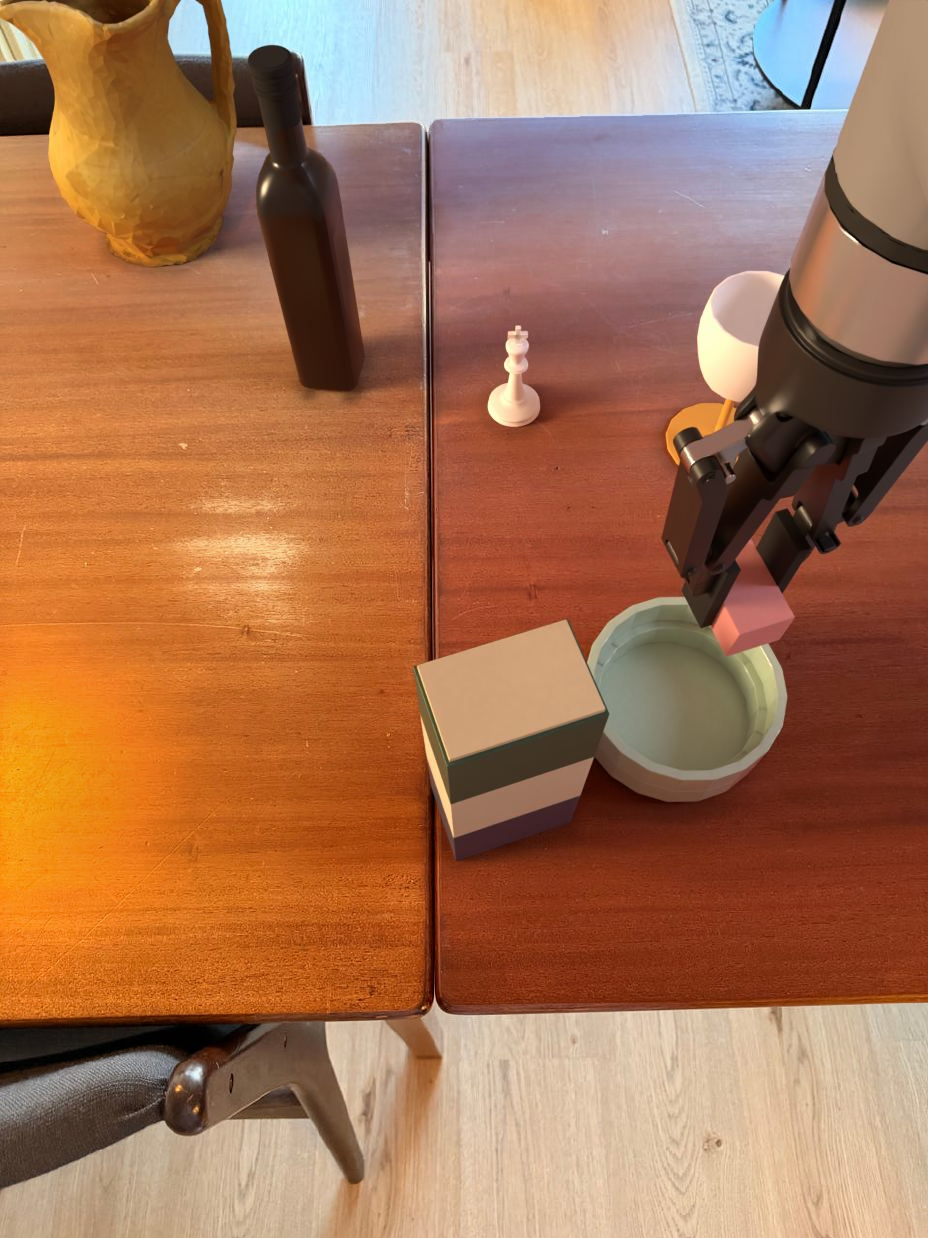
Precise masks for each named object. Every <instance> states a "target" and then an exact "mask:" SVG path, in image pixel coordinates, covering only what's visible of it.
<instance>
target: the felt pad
mask: <svg viewBox="0 0 928 1238" xmlns="http://www.w3.org/2000/svg"><path fill="white" fill-rule="evenodd" d="M562 620H563V621H562ZM562 620H558V621H559V622H558V621H555V622H556V623H555V622H552V623H553V624H552V623H549V624H550V625H549V624H546V626H545V625H542V626H543V627H542V626H539V627H540V628H539V627H536V628H537V629H536V628H533V629H534V630H532V629H529V630H530V631H529V630H526V631H527V632H526V631H523V632H524V633H523V632H520V633H521V634H520V633H517V635H516V634H514V636H513V635H511V637H510V636H507V637H508V638H507V637H503V638H504V639H503V638H500V639H501V640H500V639H497V640H498V641H497V640H494V641H495V642H494V641H490V642H491V643H490V642H487V643H488V644H487V643H484V644H485V645H484V644H481V645H482V646H481V645H478V647H477V646H475V648H474V647H472V649H471V648H468V649H469V650H468V649H465V651H464V650H461V651H462V652H461V651H458V652H459V653H458V652H455V653H456V654H455V653H452V655H451V654H448V655H449V656H448V655H445V656H446V657H445V656H442V657H443V658H442V657H439V659H438V658H435V659H436V660H435V659H432V660H433V661H432V660H429V661H430V662H429V661H426V662H427V663H425V662H422V663H423V664H422V663H419V664H420V665H419V664H416V665H417V668H418V671H419V674H420V677H421V680H422V683H423V686H424V689H425V692H426V695H427V698H428V701H429V704H430V706H431V709H432V712H433V715H434V718H435V721H436V724H437V727H438V730H439V733H440V736H441V739H442V742H443V745H444V748H445V750H446V753H447V756H448V759H449V762H452V761H455V760H458V759H461V758H464V757H467V756H470V755H473V754H476V753H480V752H483V751H486V750H489V749H492V748H495V747H498V746H501V745H504V744H507V743H510V742H513V741H516V740H519V739H523V738H526V737H529V736H532V735H535V734H538V733H541V732H544V731H547V730H550V729H553V728H556V727H559V726H562V725H566V724H569V723H572V722H575V721H578V720H581V719H584V718H587V717H590V716H593V715H596V714H599V713H602V712H605V707H604V704H603V702H602V700H601V697H600V695H599V693H598V690H597V688H596V686H595V684H594V681H593V679H592V677H591V674H590V672H589V670H588V668H587V665H586V663H585V661H584V658H583V656H582V654H581V652H580V649H579V647H578V645H577V642H576V640H575V638H574V636H573V633H572V631H571V629H570V626H569V624H568V622H567V620H565V619H562Z"/></svg>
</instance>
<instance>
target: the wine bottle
mask: <svg viewBox="0 0 928 1238" xmlns="http://www.w3.org/2000/svg"><path fill="white" fill-rule="evenodd" d="M247 65H248V71H249V73H250V75H251V81H252V88H253V91H254V93H255V95H256V96H257V100H258V105H259V109H260V115H261V118H262V123H263V127H264V132H265V136H266V141H267V145H268V151H269V152H268V154H267V155H266V156H265V159H264V161H263V163H262V166H261V169H260V171H259V172H258V176H257V181H256V185H255V205H256V215H257V217H258V223H259V226H260V230H261V234H262V237H263V241H264V245H265V250H266V254H267V258H268V262H269V265H270V269H271V274H272V277H273V281H274V286H275V289H276V293H277V297H278V300H279V305H280V310H281V314H282V317H283V321H284V325H285V329H286V332H287V336H288V340H289V345H290V349H291V352H292V353H291V354H292V356H293V361H294V364H295V367H296V373H297V376H298V381H299V383H300V384H301V385H302V387H304V388H306V389H311V390H323V391H334V392H341V393H346V392H347V393H348V392H352V391H353V390H355V389H357V388H356V387H357V386H358V385H359V381H360V377H361V372H362V369H363V365H364V362H365V361H364V360H365V357H366V355H365V347H364V341H363V335H362V329H361V323H360V315H359V309H358V303H357V297H356V290H355V284H354V277H353V271H352V264H351V258H350V252H349V251H350V250H349V244H348V238H347V233H346V232H347V231H346V227H345V225H346V224H345V220H344V211H343V206H342V199H341V194H340V186H339V180H338V177H337V174H336V171H335V169H334V167H333V165H332V164H331V162H329V160H327V158H326V157H325V156H324V155H323V154H322V153H320V152H319V151H317V150H315V149H314V148H312V147H310V146H307V141H306V136H305V131H304V130H305V129H304V125H303V120H302V113H301V109H300V103H299V98H298V93H297V90H298V79H297V76H296V73H295V66H294V58H293V54H292V52H291V51H290V50H289V49H288V48H286V47H284V46H282V45H278V44H267V45H263V46H259V47H257V48H255V49H253V50H252V51H251V52H250V54H248V57H247Z"/></svg>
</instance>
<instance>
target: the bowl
mask: <svg viewBox="0 0 928 1238" xmlns="http://www.w3.org/2000/svg"><path fill="white" fill-rule="evenodd" d="M587 664H588V666H589V668H590V670H591V673H592V675H593V677H594V680H595V682H596V684H597V686H598V689H599V691H600V693H601V696H602V698H603V700H604V702H605V705H606V707H607V709H608V712H609V717H608V720H607V723H606V725H605V728H604V731H603V734H602V737H601V739H600V742H599V745H598V748H597V750H596V753H595V756H594V758H595V759H596V760H597V762H598V763H599V765H601V766H602V768H603V769H604V770H605V771H606V772H607V773H608V775H609V776H611V778H613V779H614V780H616V781H618V782H620V783H621V784H623V786H626V787H627V788H629V789H630V790H632V791H633V792H635V793H637V794H638V795H639V794H640V795H642V796H646V797H649V798H653V799H656V800H659V801H663V802H667V803H676V802H677V803H680V802H685V803H686V802H700V801H703V800H706V799H709V798H712V797H715V796H717V795H721V794H723V793H726V792H728V791H729V790H730V789H731V788H733V787H734V786H735V785H736V784H738V782H740V781H741V780H743V779H744V778H745V777H746V776H748V774H749V773H750V772H752V770H753V769H754V768H755V766H756V765H757V764H758V763H759V762H760V761H761V759H762V758H763V757H765V755H766V754H767V753H768V752H769V750H770V749H771V747H772V745H773V743H774V742H775V740H776V738H777V737H778V735H779V734H780V732H781V730H782V728H783V725H784V721H785V717H786V716H785V715H786V709H787V703H788V692H787V687H786V681H785V677H784V671H783V668H782V666H781V663H780V661H779V660H778V658H777V657H776V655H775V653H774V651H773V649H772V648H771V645H770V643H768V644H765V645H762V646H758V647H755V648H752V649H749V650H746V651H743V652H740V653H737V654H734V655H731V656H726V655H725V653H724V652H723V650H722V648H721V646H720V644H719V642H718V640H717V638H716V636H715V634H714V632H713V630H712V628H711V626H707V627H704V628H700V626H699V624H698V622H697V621H696V619H695V617H694V615H693V613H692V611H691V609H690V607H689V605H688V603H687V601H686V599H685V597H684V596H659V597H655V598H652V599H649V600H645V601H642V602H638V603H636V604H632V605H630V606H629V607H628V608H625V610H623V611H621V612H620V613H619V614H617V615H615V616H614V617H613V618H612V619H611V620H609V621H608V622H607V623H606V624H605V626H604V627H603V628H602V630H601V632H600V633H599V634H598V636H597V637H596V639H595V640H594V641H593V642H592V645H591V647H590V652H589V654H588V658H587Z"/></svg>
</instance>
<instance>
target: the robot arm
mask: <svg viewBox="0 0 928 1238" xmlns="http://www.w3.org/2000/svg"><path fill="white" fill-rule="evenodd" d="M847 110H848V111H847V112H846V116H845V119H844V121H843V124H842V127H841V129H840V132H839V134H838V138H837V142H836V145H835V148H834V149H833V151H832V154H831V157H830V159H829V162H828V165H827V167H826V169H825V171H824V173H823V176H822V177H821V181H820V183H819V187H818V189H817V192H816V194H815V197H814V199H813V202H812V205H811V207H810V210H809V212H808V215H807V218H806V220H805V222H804V225H803V227H802V230H801V232H800V235H799V238H798V241H797V243H796V246H795V248H794V250H793V253H792V256H791V259H790V267H789V268H788V270H787V271H786V273H785V274H784V278H783V280H782V283H781V285H780V288H779V290H778V293H777V296H776V298H775V301H774V303H773V306H772V308H771V311H770V314H769V316H768V319H767V321H766V324H765V327H764V329H763V332H762V335H761V338H760V342H759V348H758V362H757V379H756V384H755V386H754V388H753V389H752V390H751V392H750V393H749V394H748V395H747V396H746V397H745V398H744V399H743V400H742V402H739V404H738V405H737V407H736V408H737V409H736V411H735V414H734V422H733V423H731V424H729V425H727V426H725V427H723V428H721V429H720V430H718V431H716V432H714V433H712V434H708V435H705V436H704V437H702V435H701V433H700V431H699V430H698V429H697V427H689V428H686V429H684V430H682V431H681V432H679V433H678V434H677V435H676V436H675V437H674V439H673V444H674V447H675V449H676V452H677V454H678V456H679V459H680V463H679V465H678V467H677V471H676V476H675V480H674V484H673V488H672V492H671V496H670V499H669V500H670V501H669V503H668V504H669V505H668V509H667V513H666V517H665V522H664V526H663V529H662V533H661V541H662V543H663V545H664V547H665V549H666V551H667V553H668V555H669V557H670V558H671V561H672V563H673V564H674V566H675V568H676V571H677V572H678V574H679V576H680V578H681V579H683V580H684V583H683V585H682V588H681V593H682V595H683V597H685V599H686V601H687V603H688V605H689V607H690V609H691V611H692V613H693V615H694V617H695V619H696V621H697V622H698V624H699V626H700V628H704V627H707V626H710V625H712V623H713V621H714V619H715V617H716V615H717V613H718V612H719V610H720V608H721V606H722V604H723V603H724V601H725V599H726V598H727V596H728V594H729V592H730V590H731V588H732V586H733V584H734V582H735V580H736V578H737V577H738V575H739V573H740V571H741V569H740V567H739V565H738V564H737V562H736V560H735V559H736V558H737V556H738V555H739V554H740V552H741V551H742V550H743V548H744V547H745V546H746V544H747V543H748V541H749V540H750V539H751V540H752V538H753V536H754V535H755V533H756V532H757V531H758V529H759V528H760V527H761V526H762V524H763V523H764V522H765V520H766V519H767V518H768V516H769V515H770V513H771V512H772V510H773V509H774V508H775V507H776V505H777V504H778V503H779V502H780V500H781V499H787V498H792V497H793V498H792V501H791V508H792V510H793V511H794V514H793V515H792V513H791V512H790V510H789V508H788V507H787V508H783V509H780V510H777V511H774V513H773V515H772V516H771V519H770V521H769V523H768V525H767V526H766V528H765V530H764V532H763V534H762V536H761V538H760V540H759V541H758V543H757V546H755V547H756V549H757V551H758V553H759V554H760V556H761V558H762V560H763V561H764V563H765V565H766V567H767V569H768V570H769V572H770V574H771V576H772V577H773V579H774V581H775V583H776V585H777V586H778V588H779V589H780V591H781V593H782V595H783V594H784V592H785V590H786V589H787V588H788V586H789V584H790V583H791V581H792V580H793V578H794V577H795V575H796V573H797V572H798V570H799V569H800V567H801V566H802V564H803V563H804V562H805V561H806V560H807V559H808V558H810V556H811V555H812V552H813V551H814V549H815V548H816V550H817V551H818V553H819V554H820V555H827V554H829V553H831V552H833V551H835V550H837V549H838V548H840V546H841V545H842V541H840V539H839V537H838V536H837V534H836V532H835V531H836V530H837V529H836V528H837V526H838V525H839V524H841V523H845V524H846V526H847V527H848V528H851V527H855V526H859V525H861V524H863V523H864V522H865V521H866V520H867V519H868V518H870V516H871V514H872V513H873V512H874V511H875V509H876V508H877V506H878V505H879V504H880V503H881V501H882V500H883V499H884V497H885V496H886V495H887V493H888V492H889V491H890V490H891V489H892V487H893V486H894V484H896V483H897V481H898V479H900V477H901V476H902V475H903V473H904V472H905V471H906V470H907V468H908V467H909V466H910V464H911V463H912V462H913V460H914V459H915V458H916V456H917V455H918V454H919V453H920V451H921V450H922V449H923V448H924V447H925V445H926V444H927V443H928V0H888V2H887V5H886V8H885V10H884V13H883V16H882V18H881V21H880V24H879V26H878V30H877V32H876V34H875V38H874V40H873V43H872V45H871V48H870V51H869V54H868V56H867V59H866V62H865V65H864V67H863V69H862V72H861V75H860V78H859V81H858V84H857V87H856V89H855V92H854V94H853V97H852V100H851V102H850V105H849V107H848V109H847ZM737 456H738V460H737V462H736V458H737ZM735 462H736V463H735ZM734 464H735V465H734ZM732 467H733V468H732ZM854 488H855V489H854ZM855 490H856V491H855ZM856 492H857V493H856Z"/></svg>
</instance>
